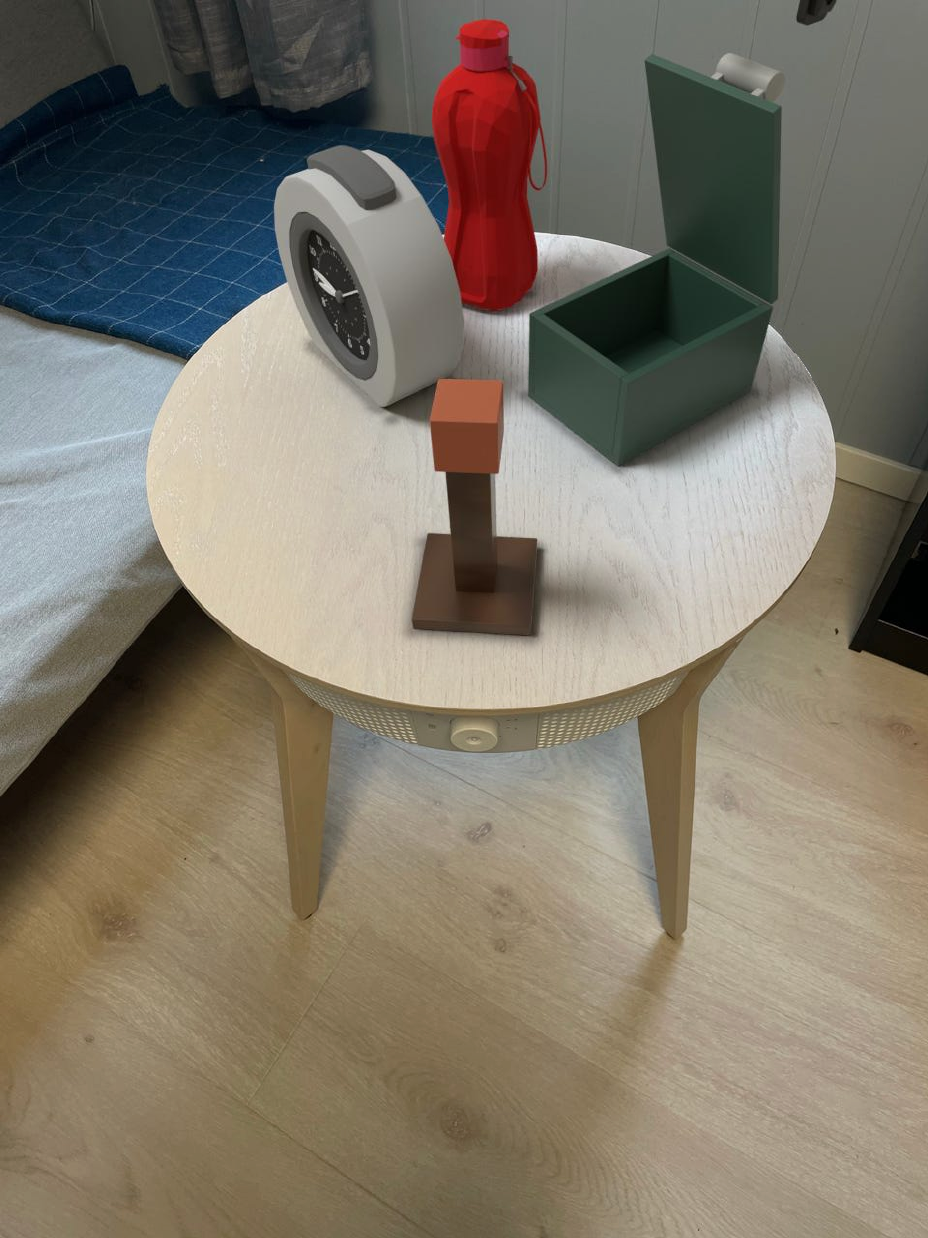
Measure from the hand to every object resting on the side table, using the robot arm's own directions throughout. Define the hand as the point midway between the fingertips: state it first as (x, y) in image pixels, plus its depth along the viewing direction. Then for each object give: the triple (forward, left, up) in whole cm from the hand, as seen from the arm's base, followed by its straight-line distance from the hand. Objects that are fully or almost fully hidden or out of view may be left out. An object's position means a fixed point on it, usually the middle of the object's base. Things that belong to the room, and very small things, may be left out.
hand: (759, 5), depth 57 cm
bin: (+5, +1, -31) cm, 31 cm away
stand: (+18, +26, -31) cm, 44 cm away
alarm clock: (+31, -3, -31) cm, 44 cm away
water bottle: (+20, -16, -31) cm, 40 cm away
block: (+18, +26, -17) cm, 36 cm away
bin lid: (+1, -2, -13) cm, 14 cm away
